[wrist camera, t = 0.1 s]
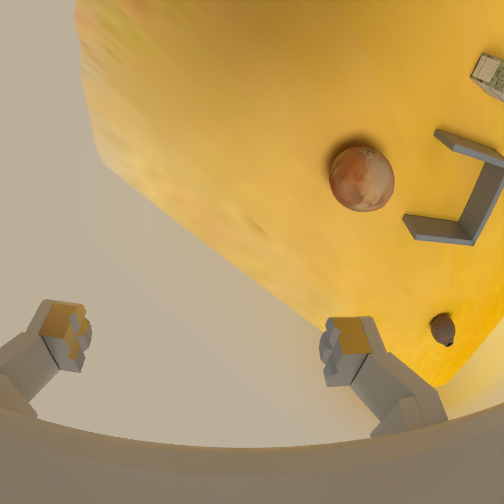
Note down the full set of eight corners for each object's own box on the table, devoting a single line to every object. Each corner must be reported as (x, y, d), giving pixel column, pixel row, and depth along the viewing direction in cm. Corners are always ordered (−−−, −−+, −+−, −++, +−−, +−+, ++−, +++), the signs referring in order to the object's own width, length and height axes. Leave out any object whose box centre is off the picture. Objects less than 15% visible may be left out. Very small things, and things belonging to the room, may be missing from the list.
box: (435, 129, 44) (454, 143, 39) (494, 149, 45) (513, 164, 41) (402, 219, 56) (414, 239, 51) (459, 227, 57) (473, 246, 53)
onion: (380, 132, 45) (407, 160, 37) (380, 187, 51) (403, 222, 44) (320, 139, 46) (337, 169, 38) (325, 195, 52) (340, 232, 45)
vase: (439, 309, 75) (451, 335, 68) (453, 313, 77) (464, 338, 70) (423, 325, 79) (433, 350, 73) (437, 328, 81) (447, 352, 74)
